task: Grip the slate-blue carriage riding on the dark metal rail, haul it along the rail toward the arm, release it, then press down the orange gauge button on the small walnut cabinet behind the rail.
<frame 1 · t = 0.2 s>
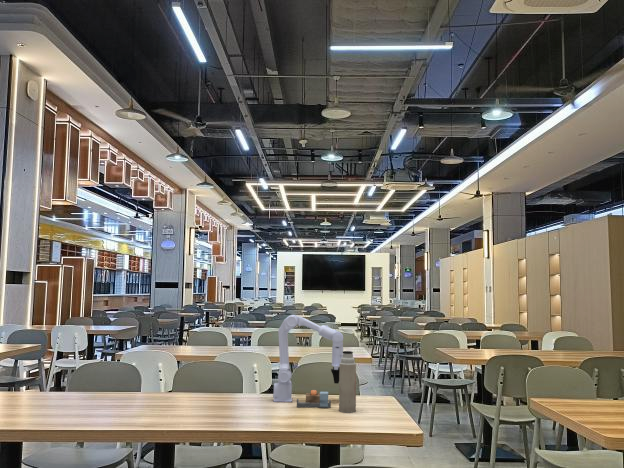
hand: (337, 382, 290), 10 cm above the table, tool pointing down, fingers open, 7 cm apart
gauge button: (313, 394, 287), point 4 cm above the table, slide at 0.0 cm
thermos bottle: (347, 411, 268), on the table
rail: (313, 407, 275), on the table
gauge cabinet: (313, 402, 286), on the table
carriage: (324, 399, 276), point 4 cm above the table, slide at 0.0 cm
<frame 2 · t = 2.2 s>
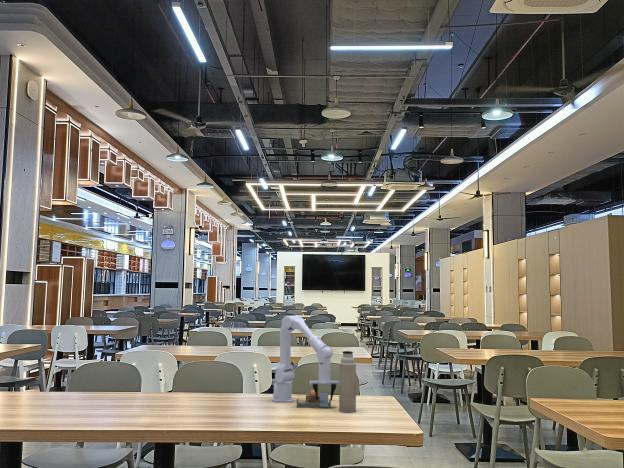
hand: (324, 400, 276), 3 cm above the table, tool pointing down, fingers open, 6 cm apart
nothing on the table moved.
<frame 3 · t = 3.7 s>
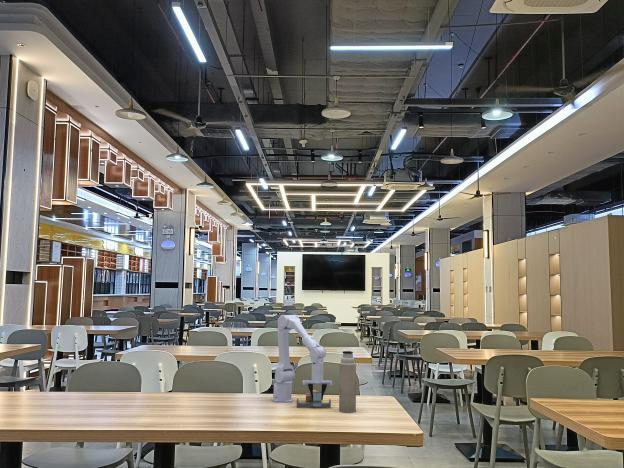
hand: (317, 399, 276), 3 cm above the table, tool pointing down, fingers closed on carriage, 4 cm apart
carriage: (317, 398, 276), point 4 cm above the table, slide at 3.3 cm, touching gripper
everything else where it was.
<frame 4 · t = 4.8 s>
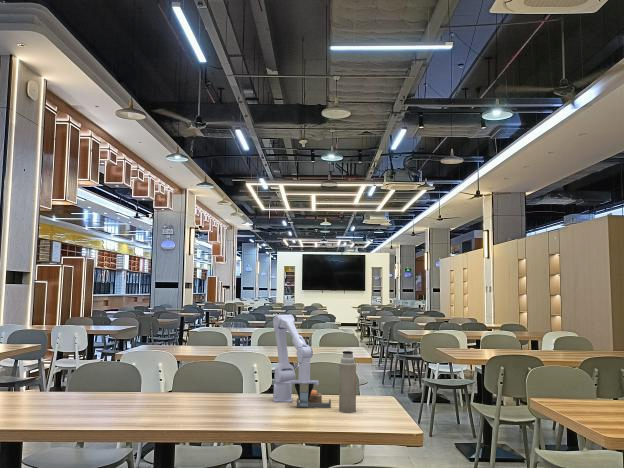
hand: (303, 399, 276), 3 cm above the table, tool pointing down, fingers closed on carriage, 4 cm apart
carriage: (303, 398, 276), point 4 cm above the table, slide at 9.8 cm, touching gripper
everything else where it was.
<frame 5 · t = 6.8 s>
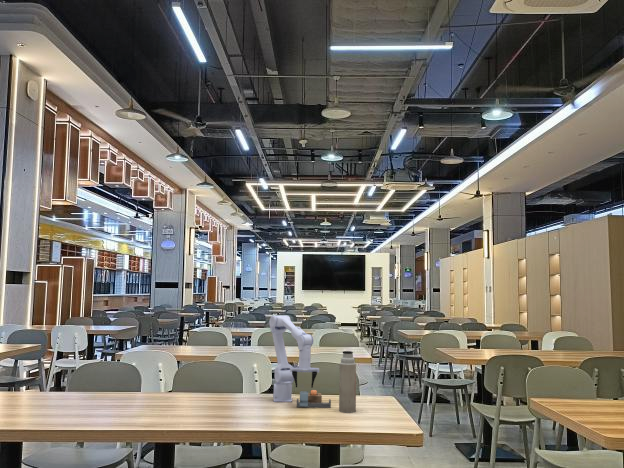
hand: (304, 387, 277), 9 cm above the table, tool pointing down, fingers open, 7 cm apart
carriage: (303, 398, 276), point 4 cm above the table, slide at 9.9 cm
everything else where it was.
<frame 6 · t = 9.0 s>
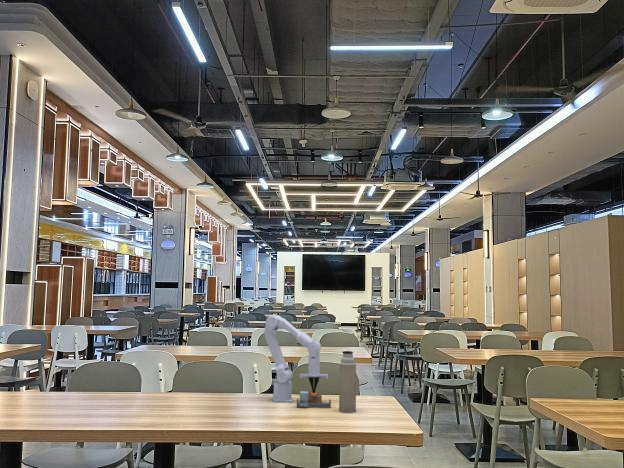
hand: (313, 392, 287), 5 cm above the table, tool pointing down, fingers closed, pressing on gauge button
gauge button: (313, 396, 287), point 3 cm above the table, slide at 1.0 cm, touching gripper
everything else where it was.
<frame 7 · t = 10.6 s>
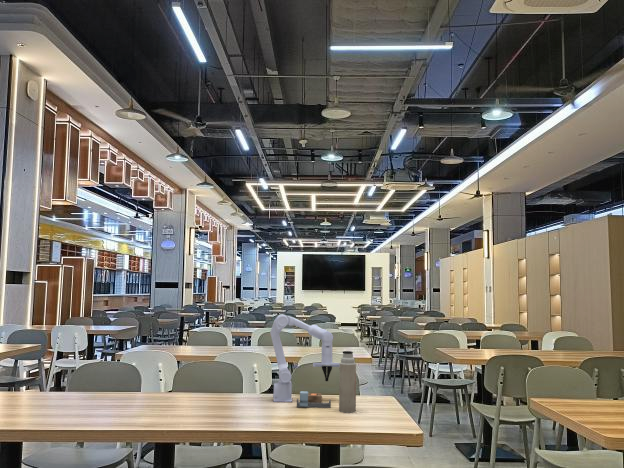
hand: (326, 381, 293), 10 cm above the table, tool pointing down, fingers closed
gauge button: (313, 397, 287), point 3 cm above the table, slide at 1.7 cm
everything else where it was.
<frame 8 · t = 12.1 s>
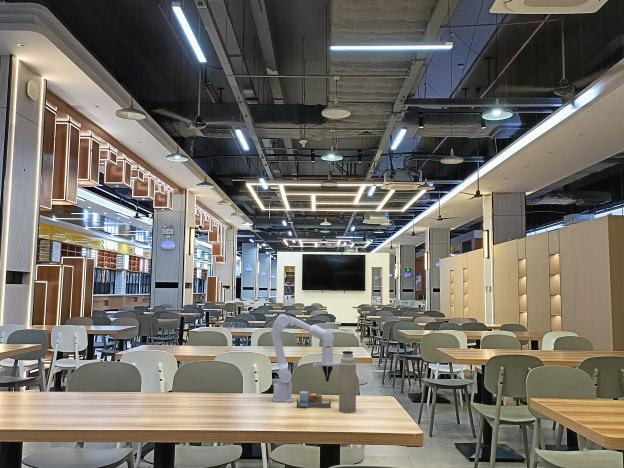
hand: (327, 381, 293), 10 cm above the table, tool pointing down, fingers closed
nothing on the table moved.
at the end: carriage slide at 9.9 cm; gauge button slide at 1.7 cm; the gripper is holding nothing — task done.
